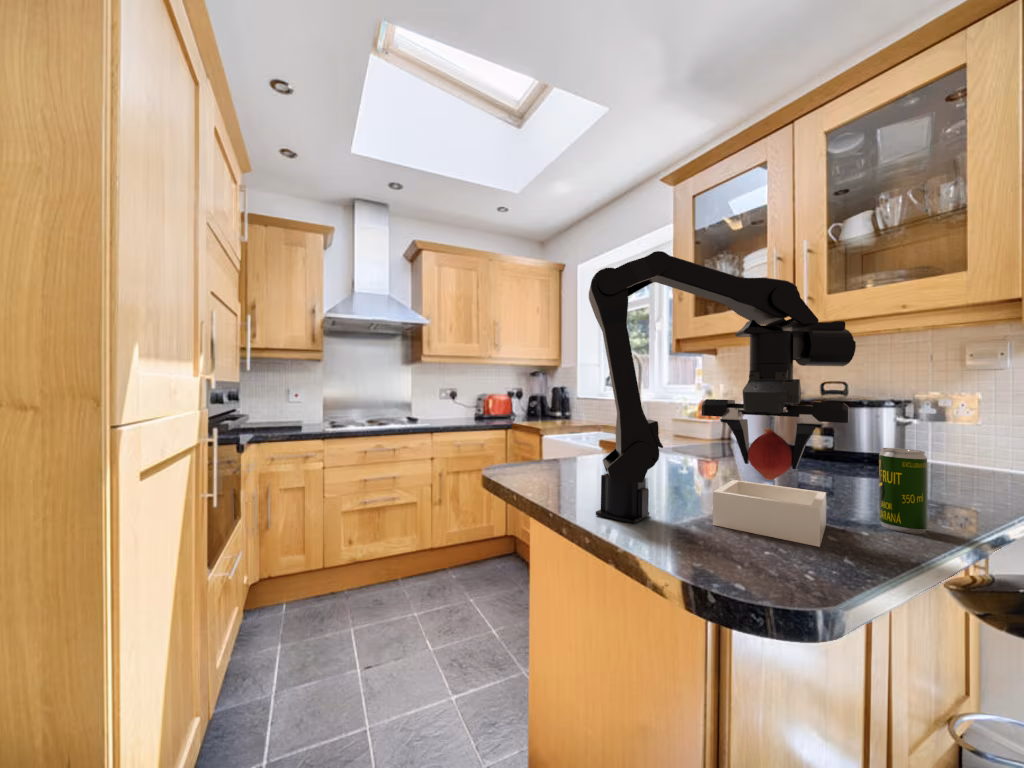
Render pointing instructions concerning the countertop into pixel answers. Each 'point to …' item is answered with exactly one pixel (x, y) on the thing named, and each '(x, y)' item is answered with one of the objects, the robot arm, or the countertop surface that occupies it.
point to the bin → (771, 511)
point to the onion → (770, 455)
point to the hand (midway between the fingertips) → (769, 466)
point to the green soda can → (903, 490)
